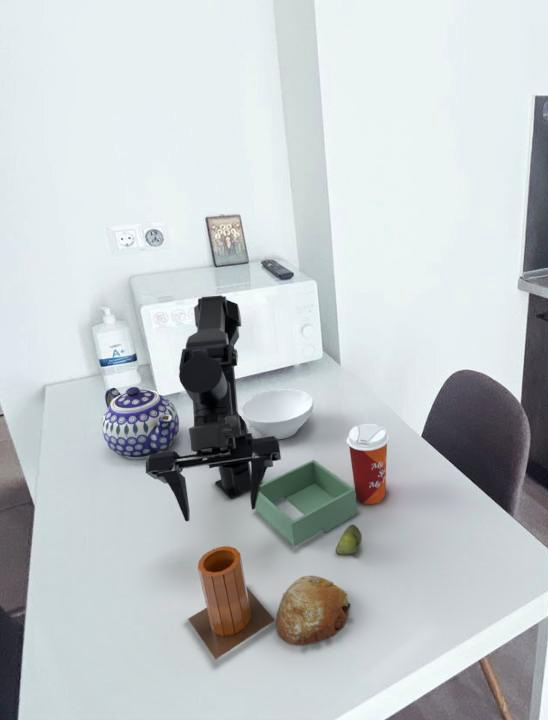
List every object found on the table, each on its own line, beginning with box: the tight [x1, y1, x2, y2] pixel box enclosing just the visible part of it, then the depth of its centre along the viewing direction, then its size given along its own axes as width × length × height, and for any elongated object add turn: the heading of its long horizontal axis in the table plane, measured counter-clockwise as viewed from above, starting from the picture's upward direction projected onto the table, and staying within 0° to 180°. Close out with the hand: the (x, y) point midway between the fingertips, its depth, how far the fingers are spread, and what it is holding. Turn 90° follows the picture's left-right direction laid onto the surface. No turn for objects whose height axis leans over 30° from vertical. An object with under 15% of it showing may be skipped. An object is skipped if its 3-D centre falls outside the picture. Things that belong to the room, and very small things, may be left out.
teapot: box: [101, 386, 180, 460], centre depth 118 cm, size 25×15×15 cm, turn 53°
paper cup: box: [346, 423, 390, 505], centre depth 102 cm, size 8×8×14 cm
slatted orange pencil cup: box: [197, 545, 251, 636], centre depth 76 cm, size 5×5×11 cm
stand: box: [187, 586, 276, 661], centre depth 77 cm, size 9×9×6 cm
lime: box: [335, 523, 363, 556], centre depth 90 cm, size 4×5×5 cm
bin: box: [254, 459, 358, 547], centre depth 99 cm, size 13×13×6 cm
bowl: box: [241, 388, 314, 440], centre depth 125 cm, size 16×16×7 cm
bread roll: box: [275, 575, 351, 646], centre depth 78 cm, size 10×10×8 cm
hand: (220, 515), depth 80 cm, fingers open, 9 cm apart
